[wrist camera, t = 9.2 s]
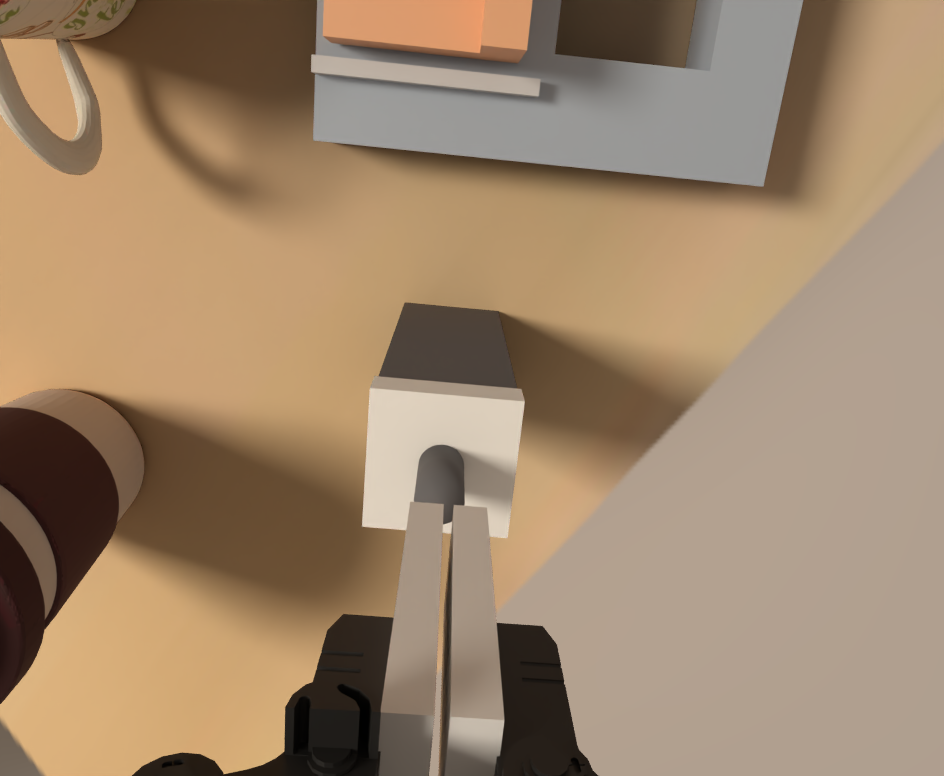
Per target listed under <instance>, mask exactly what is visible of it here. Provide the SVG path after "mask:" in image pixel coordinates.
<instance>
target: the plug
mask: <svg viewBox="0 0 944 776" xmlns="http://www.w3.org/2000/svg"><path fill="white" fill-rule="evenodd" d="M524 404H525V400H524V396H523V393H522V389H517V386H516V382H515V377H514V373H513V369H512V365H511V361H510V357H509V353H508V349H507V345H506V341H505V337H504V333H503V329H502V325H501V320H500V316H499V312H498V311H490V310H479V309H468V308H457V307H447V306H436V305H425V304H414V303H405V304H404V306H403V309H402V312H401V315H400V318H399V320H398V323H397V326H396V329H395V332H394V334H393V337H392V340H391V343H390V346H389V349H388V351H387V354H386V357H385V360H384V363H383V365H382V368H381V371H380V374H379V376H374V379H373V381H372V384H371V387H370V396H369V414H368V431H367V449H366V466H365V484H364V501H363V518H362V527H372V528H385V529H398V530H406V528H407V521H408V514H409V507H410V502H423V503H436V504H444V510H443V533H449V534H451V529H452V519H453V508H454V505H462V506H475V507H487V512H488V525H489V537H500V538H508V530H509V522H510V514H511V506H512V498H513V491H514V483H515V475H516V467H517V459H518V451H519V443H520V436H521V428H522V420H523V412H524Z"/></svg>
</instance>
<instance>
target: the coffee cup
mask: <svg viewBox="0 0 944 776" xmlns="http://www.w3.org/2000/svg"><path fill="white" fill-rule="evenodd" d="M143 476H144V456H143V451H142V448H141V445H140V442H139V440H138V438H137V436H136V434H135V432H134V431H133V429H132V427H131V426H130V424H129V423H128V422H127V421H126V420H125V419H124V418H123V416H121V415H120V414H119V413H118V412H117V411H116V410H115V409H113V408H112V407H111V406H110V405H108V404H107V403H105V402H103V401H102V400H100V399H98V398H96V397H93V396H90V395H88V394H85V393H82V392H78V391H73V390H67V389H48V390H43V391H38V392H33V393H30V394H28V395H25V396H23V397H21V398H18V399H16V400H14V401H11V402H9V403H7V404H5V405H2V406H0V704H1V703H2V702H3V701H4V700H5V698H6V697H7V696H8V695H9V694H10V692H11V691H12V690H13V689H14V688H15V686H16V685H17V684H18V683H19V682H20V680H21V679H22V678H23V677H24V675H25V674H26V673H27V671H28V670H29V668H30V667H31V665H32V664H33V662H34V660H35V658H36V656H37V653H38V651H39V648H40V646H41V643H42V639H43V634H44V629H46V627H47V626H48V625H49V624H50V622H51V621H52V620H53V619H54V617H55V616H56V615H57V613H58V612H59V610H60V609H61V608H62V606H63V605H64V604H65V602H66V601H67V599H68V598H69V597H70V595H71V594H72V593H73V591H74V590H75V588H76V587H77V586H78V584H79V583H80V581H81V580H82V579H83V577H84V576H85V575H86V573H87V572H88V570H89V569H90V568H91V566H92V565H93V564H94V562H95V561H96V559H97V558H98V557H99V555H100V554H101V553H102V551H103V550H104V548H105V547H106V546H107V544H108V542H109V540H110V539H111V537H112V535H113V533H114V530H115V527H116V524H117V523H118V521H119V520H120V519H121V517H122V516H123V515H124V513H125V512H126V511H127V509H128V508H129V507H130V505H131V504H132V503H133V501H134V500H135V498H136V496H137V495H138V493H139V490H140V488H141V485H142V481H143Z"/></svg>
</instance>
